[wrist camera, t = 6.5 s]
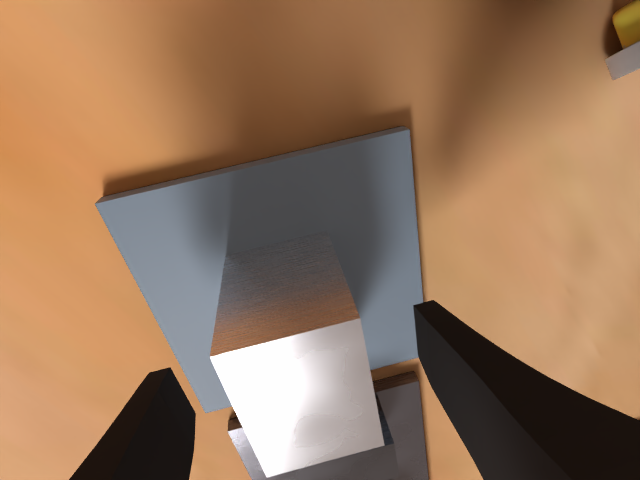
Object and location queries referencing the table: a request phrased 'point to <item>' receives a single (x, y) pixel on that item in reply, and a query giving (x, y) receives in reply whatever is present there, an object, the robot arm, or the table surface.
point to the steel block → (294, 355)
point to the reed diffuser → (626, 41)
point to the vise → (371, 465)
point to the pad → (272, 227)
